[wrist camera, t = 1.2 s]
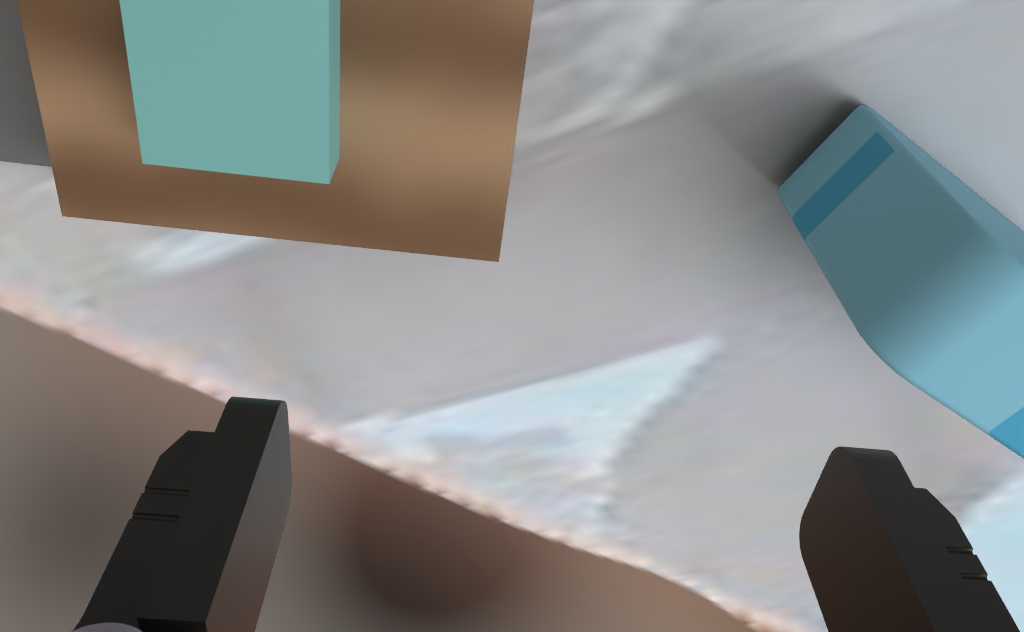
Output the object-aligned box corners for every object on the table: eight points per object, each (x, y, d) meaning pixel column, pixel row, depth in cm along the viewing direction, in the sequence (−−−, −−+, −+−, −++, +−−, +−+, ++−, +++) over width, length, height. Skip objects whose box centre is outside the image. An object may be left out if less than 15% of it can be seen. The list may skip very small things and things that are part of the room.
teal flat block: (126, -160, 23) (97, -151, 22) (341, -130, 24) (328, -120, 22) (163, 139, 29) (142, 163, 27) (339, 158, 29) (329, 184, 27)
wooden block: (21, -329, 24) (-54, -338, 21) (559, -247, 26) (567, -245, 22) (105, 169, 34) (62, 216, 30) (499, 211, 35) (498, 261, 31)
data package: (766, 178, 34) (871, 360, 24) (850, 90, 32) (1003, 249, 22) (954, 316, 38) (1111, 519, 28) (1041, 245, 36) (1242, 438, 26)
